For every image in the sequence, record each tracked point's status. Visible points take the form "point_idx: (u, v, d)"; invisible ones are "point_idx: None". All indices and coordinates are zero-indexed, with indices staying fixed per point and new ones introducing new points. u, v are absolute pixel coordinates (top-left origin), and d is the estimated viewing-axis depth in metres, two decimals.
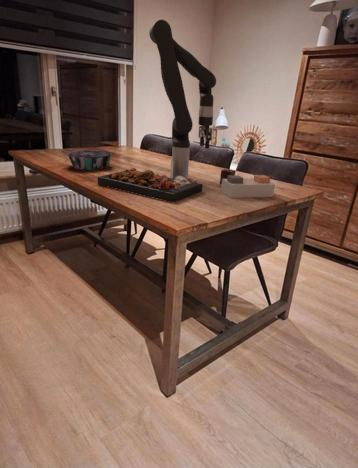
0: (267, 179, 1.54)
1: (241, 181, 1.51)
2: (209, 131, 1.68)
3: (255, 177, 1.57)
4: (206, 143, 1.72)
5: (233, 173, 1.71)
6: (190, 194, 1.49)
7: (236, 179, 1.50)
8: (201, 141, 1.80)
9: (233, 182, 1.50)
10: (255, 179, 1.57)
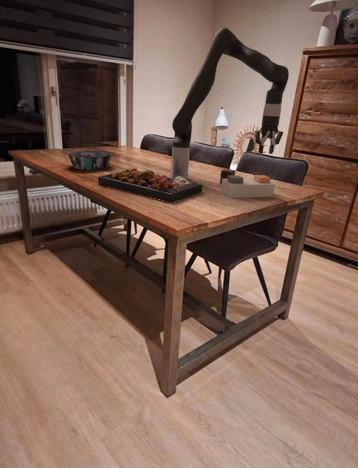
0: (267, 179, 1.54)
1: (241, 181, 1.51)
2: None
3: (255, 177, 1.57)
4: (273, 148, 1.51)
5: (233, 173, 1.71)
6: (189, 194, 1.48)
7: (236, 179, 1.50)
8: None
9: (233, 182, 1.50)
10: (255, 179, 1.57)
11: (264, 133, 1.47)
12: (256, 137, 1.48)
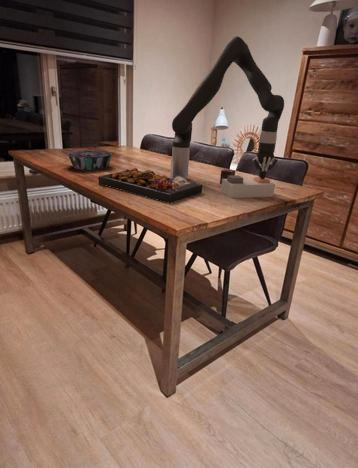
0: (267, 181, 1.55)
1: (241, 181, 1.51)
2: None
3: (255, 179, 1.57)
4: (265, 173, 1.55)
5: (233, 173, 1.71)
6: (188, 195, 1.47)
7: (236, 179, 1.50)
8: None
9: (233, 182, 1.50)
10: (255, 181, 1.57)
11: (261, 160, 1.52)
12: (255, 165, 1.53)
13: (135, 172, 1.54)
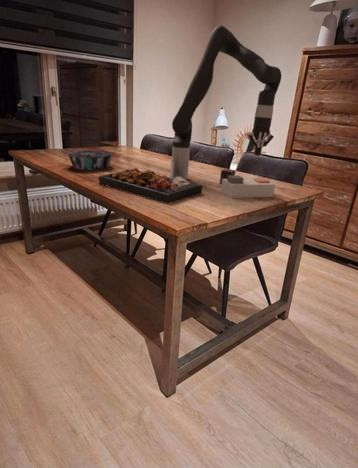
0: (266, 182, 1.55)
1: (241, 181, 1.51)
2: None
3: (255, 180, 1.58)
4: (260, 149, 1.50)
5: (233, 173, 1.71)
6: (188, 195, 1.47)
7: (236, 179, 1.50)
8: None
9: (233, 182, 1.50)
10: None
11: (256, 135, 1.47)
12: (250, 140, 1.48)
13: (135, 172, 1.54)
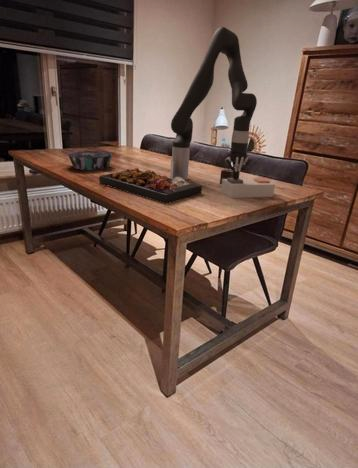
0: (266, 182, 1.55)
1: None
2: None
3: (255, 180, 1.58)
4: (238, 173, 1.52)
5: None
6: (187, 196, 1.46)
7: (236, 181, 1.51)
8: None
9: None
10: None
11: (233, 160, 1.48)
12: (228, 165, 1.49)
13: (135, 172, 1.54)
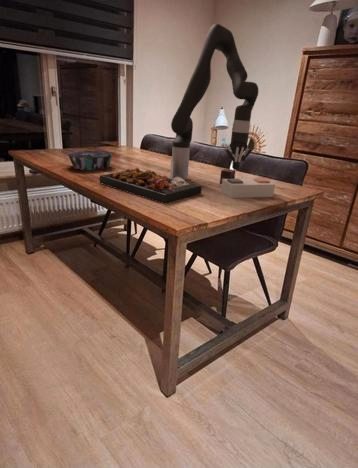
0: (266, 182, 1.55)
1: None
2: None
3: (255, 180, 1.58)
4: (238, 164, 1.50)
5: (233, 173, 1.71)
6: (186, 196, 1.46)
7: (236, 182, 1.51)
8: None
9: None
10: None
11: (234, 150, 1.46)
12: (228, 155, 1.47)
13: (135, 172, 1.54)
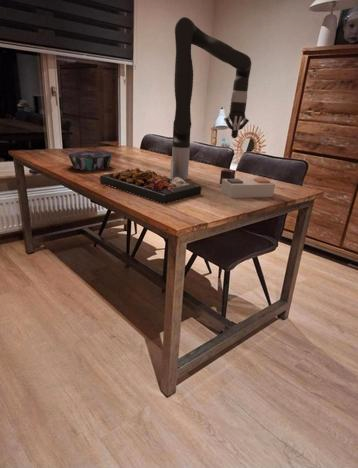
0: (266, 182, 1.55)
1: None
2: None
3: (255, 180, 1.58)
4: (237, 132, 1.64)
5: (233, 173, 1.71)
6: (185, 196, 1.45)
7: (236, 182, 1.51)
8: None
9: None
10: None
11: (232, 119, 1.61)
12: (227, 124, 1.62)
13: (135, 172, 1.54)
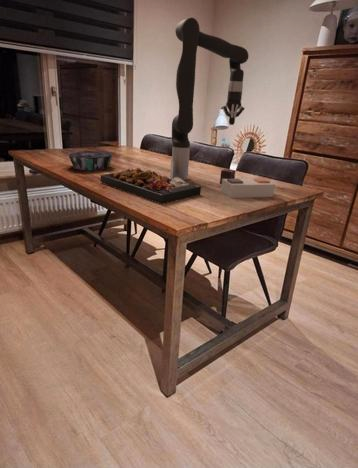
0: (266, 182, 1.55)
1: None
2: None
3: (255, 180, 1.58)
4: (234, 119, 1.80)
5: (233, 173, 1.71)
6: (184, 196, 1.45)
7: (236, 182, 1.51)
8: None
9: None
10: None
11: (230, 107, 1.77)
12: (225, 111, 1.78)
13: (134, 172, 1.54)
